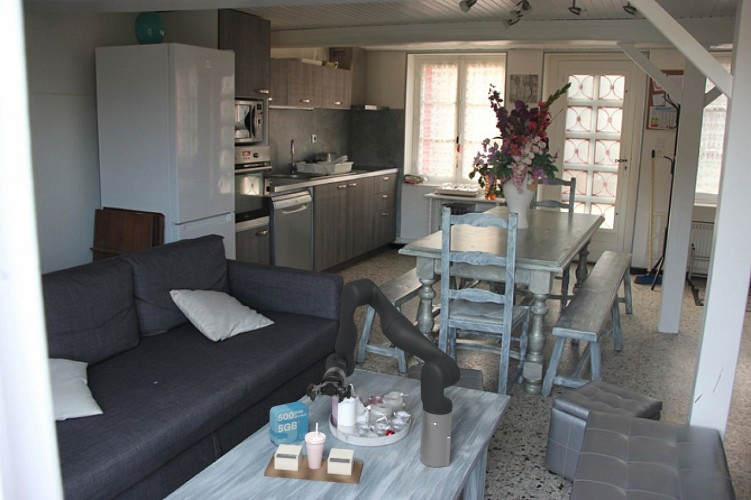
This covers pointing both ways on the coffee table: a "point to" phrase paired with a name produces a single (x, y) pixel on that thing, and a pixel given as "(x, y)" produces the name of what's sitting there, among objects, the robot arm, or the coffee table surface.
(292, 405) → the data package
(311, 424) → the coffee table surface
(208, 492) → the coffee table surface
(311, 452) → the smoothie
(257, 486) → the coffee table surface
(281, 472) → the rail board
